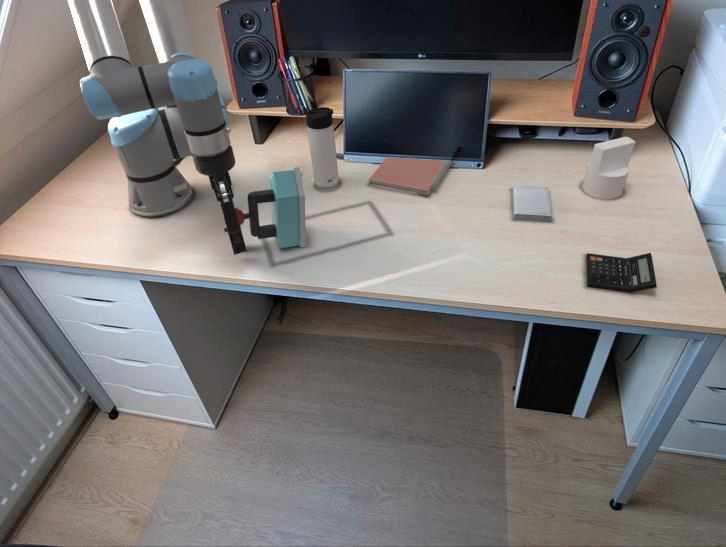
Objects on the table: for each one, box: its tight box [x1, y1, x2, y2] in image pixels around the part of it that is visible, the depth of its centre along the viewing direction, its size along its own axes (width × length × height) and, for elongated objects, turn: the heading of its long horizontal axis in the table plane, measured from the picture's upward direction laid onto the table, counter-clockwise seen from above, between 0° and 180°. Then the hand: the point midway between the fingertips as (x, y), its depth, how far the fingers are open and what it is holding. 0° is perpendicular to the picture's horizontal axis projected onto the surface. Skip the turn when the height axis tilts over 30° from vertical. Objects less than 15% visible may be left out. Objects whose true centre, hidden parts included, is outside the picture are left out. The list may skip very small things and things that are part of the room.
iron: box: [235, 166, 307, 249], centre depth 109 cm, size 17×9×16 cm
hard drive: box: [511, 184, 553, 223], centre depth 121 cm, size 2×8×12 cm
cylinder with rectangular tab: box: [581, 136, 636, 200], centre depth 120 cm, size 9×9×12 cm
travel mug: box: [305, 106, 340, 190], centre depth 127 cm, size 6×7×20 cm
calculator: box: [585, 252, 658, 294], centre depth 101 cm, size 9×12×3 cm
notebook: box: [368, 156, 455, 197], centre depth 137 cm, size 27×17×2 cm, turn 155°
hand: (238, 245), depth 113 cm, fingers closed on iron, 4 cm apart
